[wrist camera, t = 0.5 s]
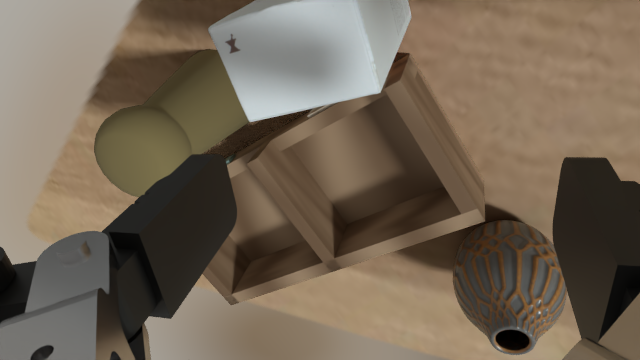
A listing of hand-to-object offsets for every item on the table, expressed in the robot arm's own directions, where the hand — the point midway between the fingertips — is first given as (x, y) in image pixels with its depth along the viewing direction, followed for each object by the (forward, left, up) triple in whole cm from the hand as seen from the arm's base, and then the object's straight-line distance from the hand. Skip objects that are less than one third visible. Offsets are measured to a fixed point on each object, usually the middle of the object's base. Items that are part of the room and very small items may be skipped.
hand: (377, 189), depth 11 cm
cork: (+15, -3, -19) cm, 24 cm away
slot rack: (+13, +6, -19) cm, 24 cm away
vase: (+3, +17, -19) cm, 26 cm away
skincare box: (+3, -3, -19) cm, 19 cm away
